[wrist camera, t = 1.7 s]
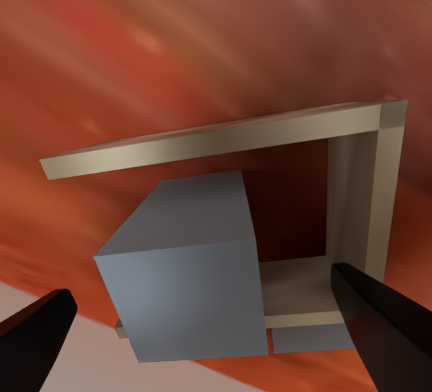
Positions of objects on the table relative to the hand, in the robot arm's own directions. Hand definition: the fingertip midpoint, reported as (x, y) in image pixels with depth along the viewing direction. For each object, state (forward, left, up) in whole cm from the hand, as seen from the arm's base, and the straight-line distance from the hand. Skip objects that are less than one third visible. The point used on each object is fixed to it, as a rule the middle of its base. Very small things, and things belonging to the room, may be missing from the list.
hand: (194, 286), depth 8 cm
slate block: (0, 0, -6) cm, 6 cm away
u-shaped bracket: (-1, 0, -6) cm, 6 cm away
